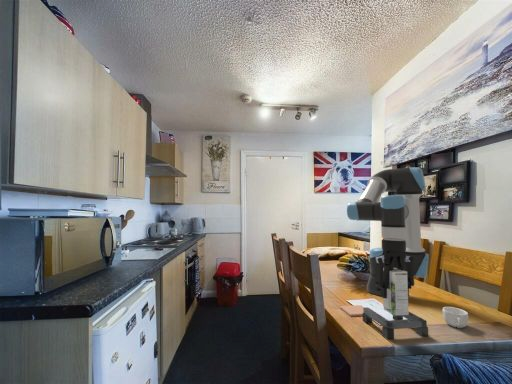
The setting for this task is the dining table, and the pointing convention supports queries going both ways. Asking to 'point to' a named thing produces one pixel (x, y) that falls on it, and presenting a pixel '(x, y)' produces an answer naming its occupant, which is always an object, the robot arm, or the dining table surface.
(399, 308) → the syrup box
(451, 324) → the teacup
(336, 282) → the dining table surface
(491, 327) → the dining table surface
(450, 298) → the dining table surface
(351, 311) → the terracotta tile
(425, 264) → the robot arm
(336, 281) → the dining table surface
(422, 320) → the grey stand frame
